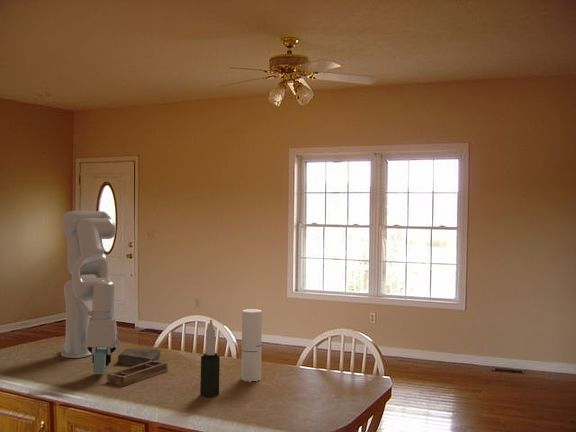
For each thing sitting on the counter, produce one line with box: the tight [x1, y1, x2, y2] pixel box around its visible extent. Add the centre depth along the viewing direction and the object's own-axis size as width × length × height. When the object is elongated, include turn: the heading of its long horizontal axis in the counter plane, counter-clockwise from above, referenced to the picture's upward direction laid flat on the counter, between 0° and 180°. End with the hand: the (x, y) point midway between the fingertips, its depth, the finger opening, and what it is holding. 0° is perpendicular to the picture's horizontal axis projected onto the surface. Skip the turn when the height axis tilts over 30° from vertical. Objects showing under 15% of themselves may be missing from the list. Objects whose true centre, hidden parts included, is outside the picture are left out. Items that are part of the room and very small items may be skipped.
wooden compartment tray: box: [106, 360, 169, 387], centre depth 207 cm, size 8×22×3 cm, turn 151°
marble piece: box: [117, 347, 161, 367], centre depth 227 cm, size 17×15×4 cm
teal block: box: [92, 347, 109, 374], centre depth 207 cm, size 4×10×7 cm, turn 6°
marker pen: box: [199, 319, 221, 398], centre depth 188 cm, size 5×5×25 cm
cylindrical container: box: [240, 308, 263, 383], centre depth 206 cm, size 7×7×25 cm
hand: (101, 364), depth 207 cm, fingers closed on teal block, 3 cm apart
